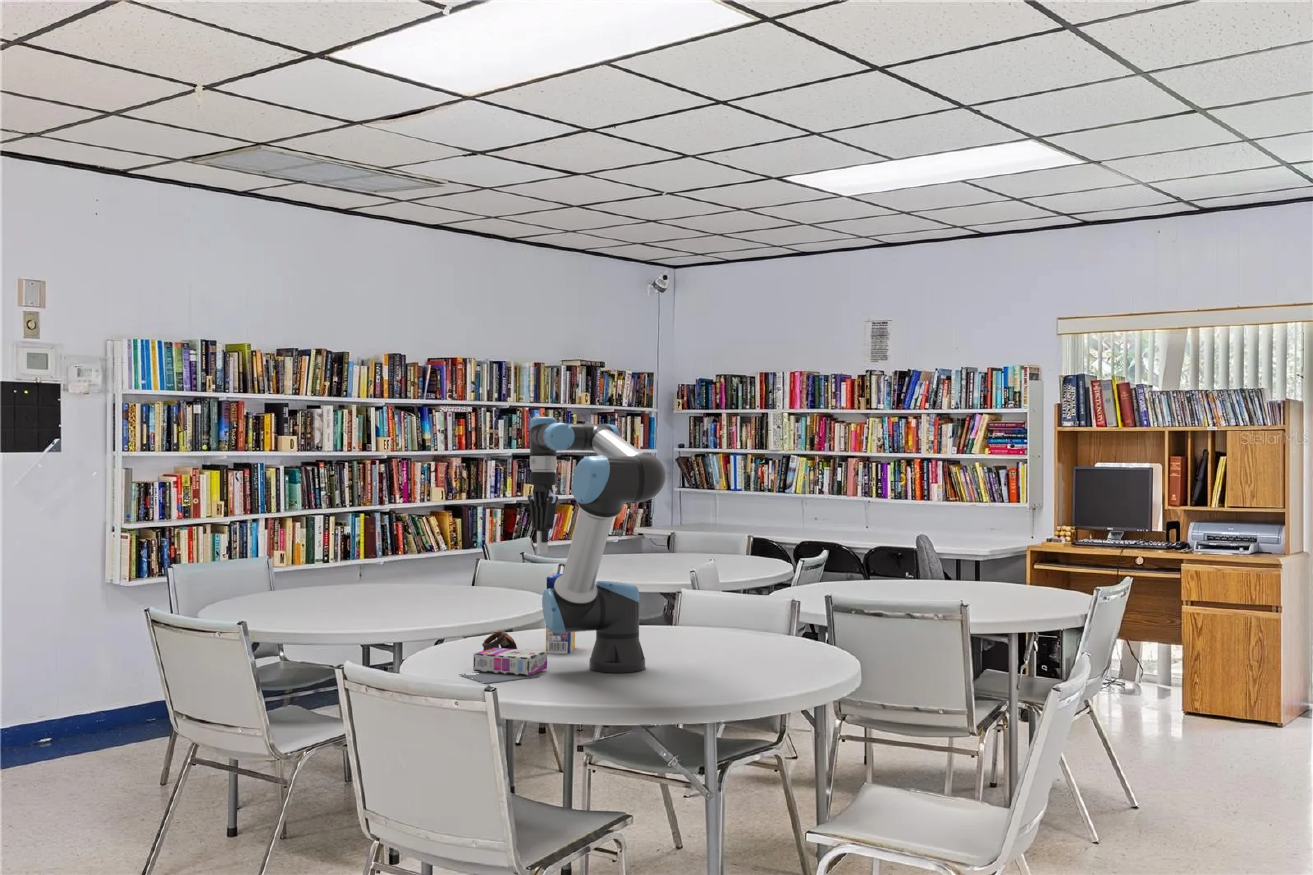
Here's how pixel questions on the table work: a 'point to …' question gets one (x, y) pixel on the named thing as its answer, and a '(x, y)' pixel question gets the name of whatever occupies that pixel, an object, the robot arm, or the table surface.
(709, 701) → the table surface
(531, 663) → the candy bar box
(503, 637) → the brown curved piece
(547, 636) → the beverage box
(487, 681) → the mat
